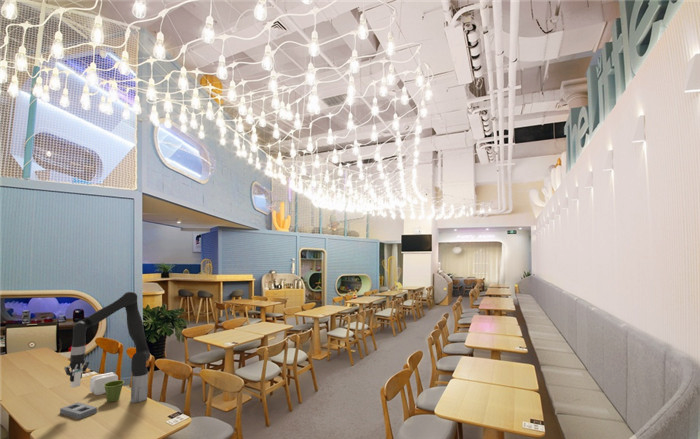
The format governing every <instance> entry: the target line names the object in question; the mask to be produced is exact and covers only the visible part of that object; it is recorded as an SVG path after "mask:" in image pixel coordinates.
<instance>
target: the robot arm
mask: <svg viewBox="0 0 700 439" xmlns="http://www.w3.org/2000/svg"><path fill="white" fill-rule="evenodd" d="M124 308H125V313H126V326H127V331H128V335H129V338H130V339H131V340H132V341H133V342H132V343H134V347H135V353H134V354H133V355H132V357H131V363H130V364H131V388H130V403H132V404H133V403H142V402H143V401H146V400H148V390H149V389H148V387H149V385H148V373H149V370H148V368H147V362H148V361H149V360H150V357H151V353H150V349H149V346H148V343H147V339H146V334H145V327H144V323H143V319H142V316H141V314H140V311H139V306H138V294H137V293H136V292H135V291H127V292H125V293H124V294H123V295H122V296H120V298H118V299H117V300H115V301H114V302H112V303H110V304H108V305H106V306H105V307H102V308H100V309H99V310H97V311H95V312H93V313H92V314H90V315H88V316H87V317H85V318H82V319H80V320H78V321H77V322H76V323H74V325H73V328H72V339H71V340H72V342H71V350H70V357H69V358H70V359H69V362H70V363H69V365H67V366H64V368H63V369H64V371H65V374H66V376H68V377H69V381H70V383H71V382H73V381H74V373H75V372H76V370H77V369H78V370H81V379H82V378H83V373H84V372H86V371H87V368H88V367H89V364H90V362H89V361H87V360H86V341H87V340H86V339H87V338H86V337H87V336H86V334H87V329H88V328H90V327H92V326H94V325H97V324H99V323H100V322H102V321H104V320H106V319H107V318H108V317H110V316H111V315H113V314H115V312H116V313H117V311H118V312H119V310H121V309H124ZM85 360H86V361H85Z"/></svg>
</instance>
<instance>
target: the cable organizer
mask: <svg viewBox="0 0 700 439" xmlns="http://www.w3.org/2000/svg"><path fill="white" fill-rule="evenodd" d="M117 380H119V376H118V375H117V374H116V373H115V372H114V371H113V372H112V371H111V372H107V373H101V374H96V375H93V376H91V377H90V381H89V391H90V392H91V393H93V394H94V395H96V396H97V395H98V396H100V395H103V394H106V391H105V387H104V384H106V383H108V382H111V381H117Z"/></svg>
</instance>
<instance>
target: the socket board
mask: <svg viewBox="0 0 700 439" xmlns="http://www.w3.org/2000/svg"><path fill="white" fill-rule="evenodd" d="M97 410H98V407H96V406H93V405H89V404H86V403H82V402H79V401H78V402H75V403H72V404H70V405H66V406H63V407H61V408H59V414H61V415H64V416H67V417H70V418H74V419H77V420H82V419H83V418H86V417H89V416H91V415H94V414H96V413H98V412H97Z"/></svg>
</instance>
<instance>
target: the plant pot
mask: <svg viewBox="0 0 700 439" xmlns="http://www.w3.org/2000/svg"><path fill="white" fill-rule="evenodd" d="M124 383H125V381H124V380H122V379H121V380H119V379H118V380H117V381H111V382H108V383H106V384H104V387H105V391H106V393H105V398H106V402H107V403H113V402H117V401H119V400H120V397H121V392H122V389H123V386H124Z"/></svg>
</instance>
